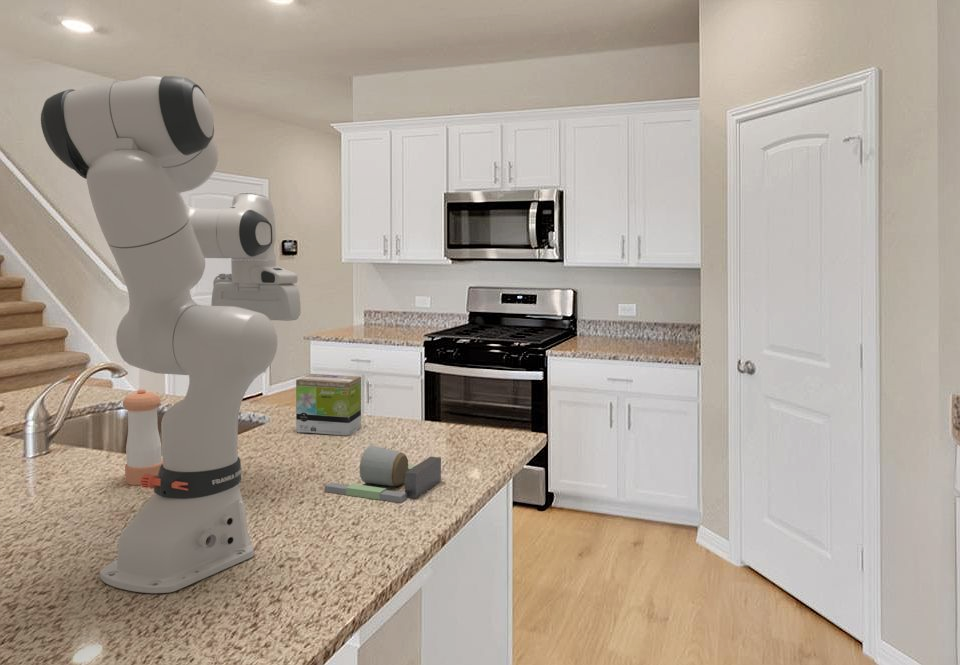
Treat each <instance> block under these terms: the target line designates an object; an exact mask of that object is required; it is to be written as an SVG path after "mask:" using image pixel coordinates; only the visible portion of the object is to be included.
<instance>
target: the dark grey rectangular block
mask: <svg viewBox="0 0 960 665" xmlns="http://www.w3.org/2000/svg"><path fill="white" fill-rule="evenodd" d="M414 466H415V467H413V468H411V469H410V470H408V471H407V472H405V480H404V486H405V487H404V493H406V498H407V497H408V498H407V499H414V498H417V499H418V498H420V497H421V496H422V495H423V494H425V493H426V492H428V491H429V490H430V489H431V487H432V486H433V487H435V486H436V485H437V484H439V483H440V482H441V481H442V457H440V456H439V457H437V456H429V457H427V458H426V459H424V460H422V461H421V462H419V463H418V464H416V465H414ZM439 481H440V482H439ZM438 482H439V483H438ZM435 484H436V485H435ZM434 485H435V486H434ZM433 487H432V488H433ZM428 489H429V490H428ZM427 490H428V491H427ZM424 492H425V493H424ZM421 494H422V495H421ZM420 495H421V496H420Z"/></svg>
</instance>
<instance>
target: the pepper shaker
mask: <svg viewBox="0 0 960 665" xmlns="http://www.w3.org/2000/svg"><path fill="white" fill-rule="evenodd" d="M161 402H162V400H161V398H160V397H159V395H158V394H157V393H154V392H150V391H146V389H144V388H139V389H138V390H137V392H133V393H130V394H128V395H126V397H125V398H124V399H123V402H122V405H123V407H124V409H125V410H126V411H127V427H128V428H127V430H128V431H127V438H126V446H125V453H126V454H125V455H126V463H125V465H124V472H125V473H124V475H125V478H124V479H125V484H128V485H130V486H141V485H140V484H142V483H140V482H141V481H140V479H141V478H142V476H143V475H144V474H149V475H152V476H153V475H156V476H158V472H159V469H160V466H161V465H162V464H163V459H162V440H161V438H160V432H159V426H158V423H159V422H158V408H159V407H160V405H161Z"/></svg>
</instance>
